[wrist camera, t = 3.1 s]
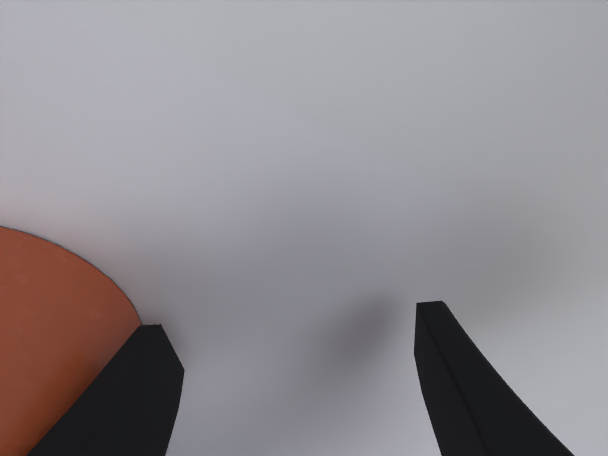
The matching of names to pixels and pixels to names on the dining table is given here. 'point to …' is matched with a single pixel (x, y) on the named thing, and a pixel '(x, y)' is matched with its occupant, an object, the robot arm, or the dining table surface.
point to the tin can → (51, 334)
